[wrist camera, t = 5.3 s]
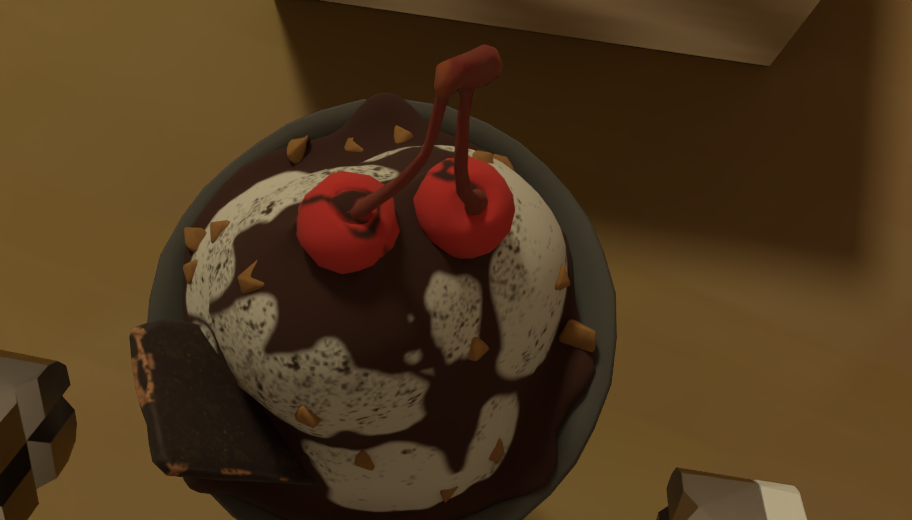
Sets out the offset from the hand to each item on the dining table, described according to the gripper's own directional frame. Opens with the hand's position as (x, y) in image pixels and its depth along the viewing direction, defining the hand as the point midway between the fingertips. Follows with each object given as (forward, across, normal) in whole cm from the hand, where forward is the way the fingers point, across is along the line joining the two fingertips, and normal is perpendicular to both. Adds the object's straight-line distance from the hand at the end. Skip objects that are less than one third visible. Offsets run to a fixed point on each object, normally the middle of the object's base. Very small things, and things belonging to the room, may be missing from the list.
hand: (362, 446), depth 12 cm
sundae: (+9, 0, +6) cm, 11 cm away
